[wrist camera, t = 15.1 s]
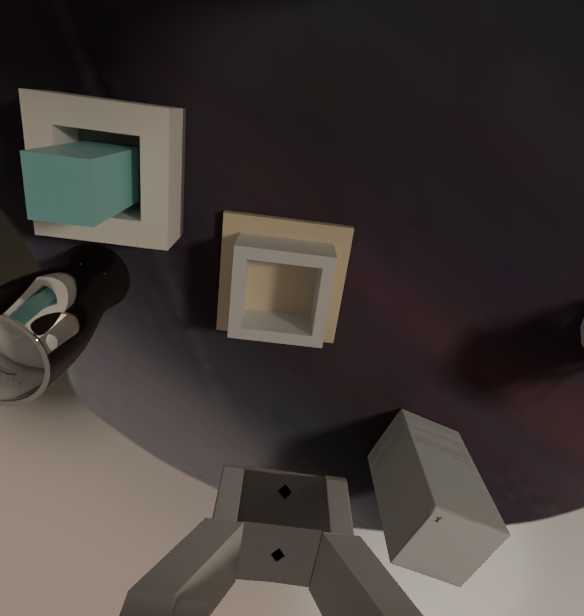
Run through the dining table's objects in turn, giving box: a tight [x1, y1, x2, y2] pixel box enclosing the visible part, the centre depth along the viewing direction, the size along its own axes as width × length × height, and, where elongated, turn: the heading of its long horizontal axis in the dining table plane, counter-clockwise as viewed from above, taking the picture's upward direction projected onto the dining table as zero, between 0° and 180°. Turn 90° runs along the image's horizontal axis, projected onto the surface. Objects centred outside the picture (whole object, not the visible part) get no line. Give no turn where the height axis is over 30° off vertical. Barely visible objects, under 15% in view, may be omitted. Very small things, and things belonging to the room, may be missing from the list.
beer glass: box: [0, 244, 130, 406], centre depth 34 cm, size 7×7×15 cm
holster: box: [216, 210, 354, 348], centre depth 38 cm, size 11×11×5 cm
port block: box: [18, 88, 186, 251], centre depth 34 cm, size 10×10×5 cm
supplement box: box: [368, 409, 510, 587], centre depth 42 cm, size 7×7×13 cm
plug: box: [20, 140, 141, 228], centre depth 31 cm, size 4×4×10 cm
